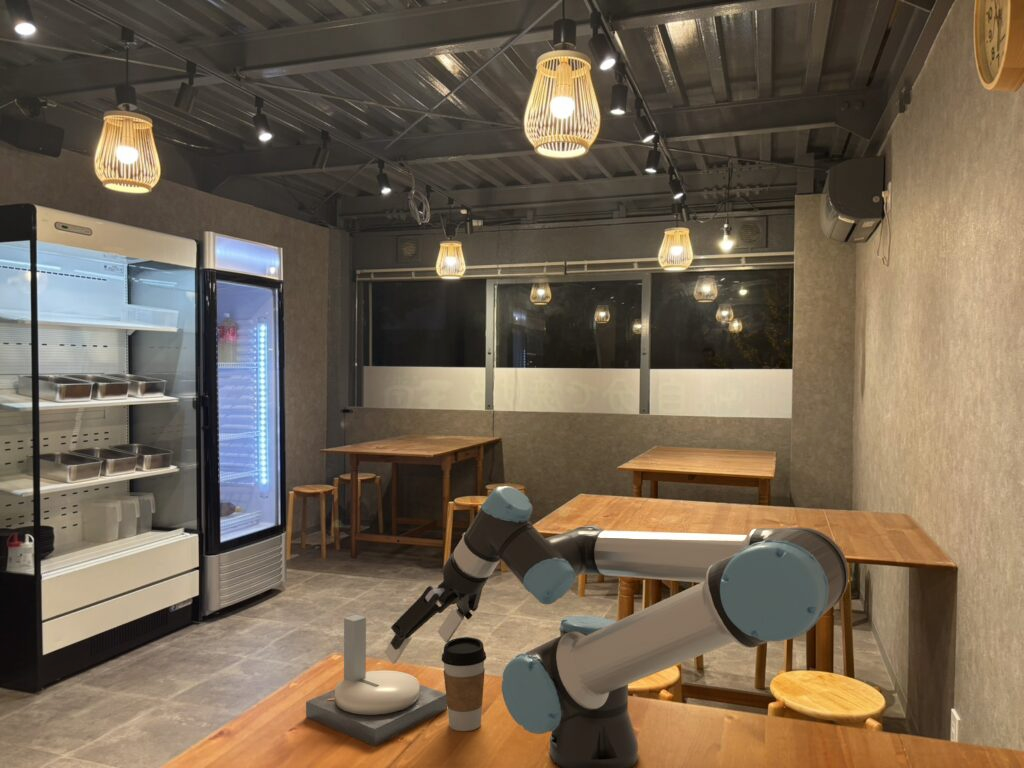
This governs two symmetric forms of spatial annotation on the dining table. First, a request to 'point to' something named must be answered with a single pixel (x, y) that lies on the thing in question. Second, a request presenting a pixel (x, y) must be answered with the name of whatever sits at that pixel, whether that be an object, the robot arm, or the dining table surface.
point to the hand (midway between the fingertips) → (417, 646)
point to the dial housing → (376, 716)
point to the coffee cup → (464, 682)
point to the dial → (370, 678)
